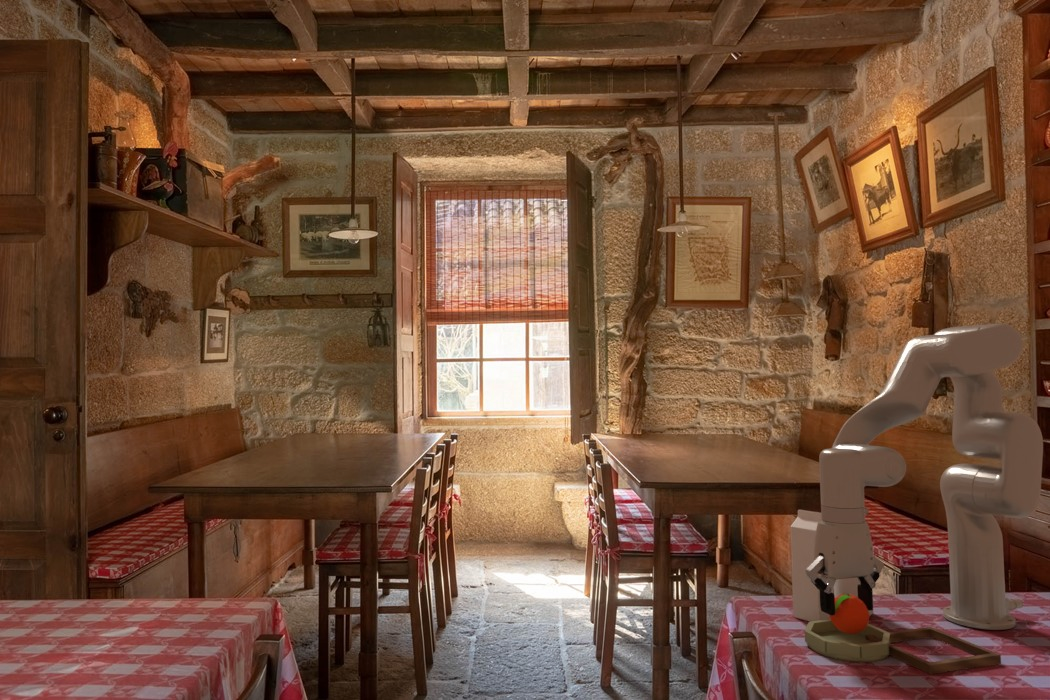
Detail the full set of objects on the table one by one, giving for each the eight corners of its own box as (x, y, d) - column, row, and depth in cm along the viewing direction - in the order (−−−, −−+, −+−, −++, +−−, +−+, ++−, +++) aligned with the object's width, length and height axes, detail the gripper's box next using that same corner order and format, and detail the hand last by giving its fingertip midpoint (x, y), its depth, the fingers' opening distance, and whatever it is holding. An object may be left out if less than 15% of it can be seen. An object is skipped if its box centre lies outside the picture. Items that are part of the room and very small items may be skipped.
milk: (819, 624, 146) (815, 515, 146) (792, 617, 150) (788, 511, 151) (835, 618, 149) (831, 511, 150) (808, 610, 154) (805, 507, 155)
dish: (852, 630, 142) (852, 616, 142) (907, 656, 128) (907, 640, 128) (791, 638, 138) (790, 623, 138) (841, 666, 124) (841, 649, 125)
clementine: (854, 643, 128) (852, 603, 128) (818, 633, 134) (817, 594, 134) (877, 633, 133) (875, 594, 133) (842, 623, 138) (840, 586, 139)
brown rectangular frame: (930, 634, 139) (930, 626, 139) (1001, 663, 124) (1000, 654, 124) (865, 643, 135) (865, 635, 135) (930, 674, 120) (930, 665, 120)
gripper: (867, 508, 140) (871, 600, 139) (790, 515, 135) (793, 609, 135) (896, 515, 133) (901, 611, 132) (816, 522, 128) (820, 622, 127)
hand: (846, 610), depth 133 cm, fingers closed on clementine, 7 cm apart
